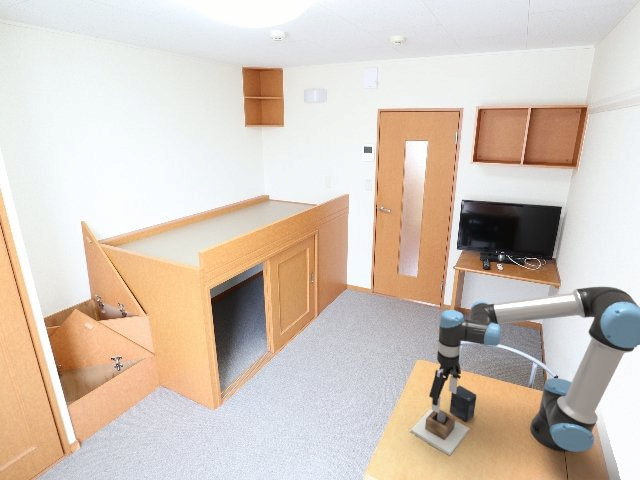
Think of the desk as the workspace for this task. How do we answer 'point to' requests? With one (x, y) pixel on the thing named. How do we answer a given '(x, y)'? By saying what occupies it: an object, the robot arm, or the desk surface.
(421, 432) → the thin white baseboard
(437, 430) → the collar
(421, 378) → the desk surface
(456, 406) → the box
